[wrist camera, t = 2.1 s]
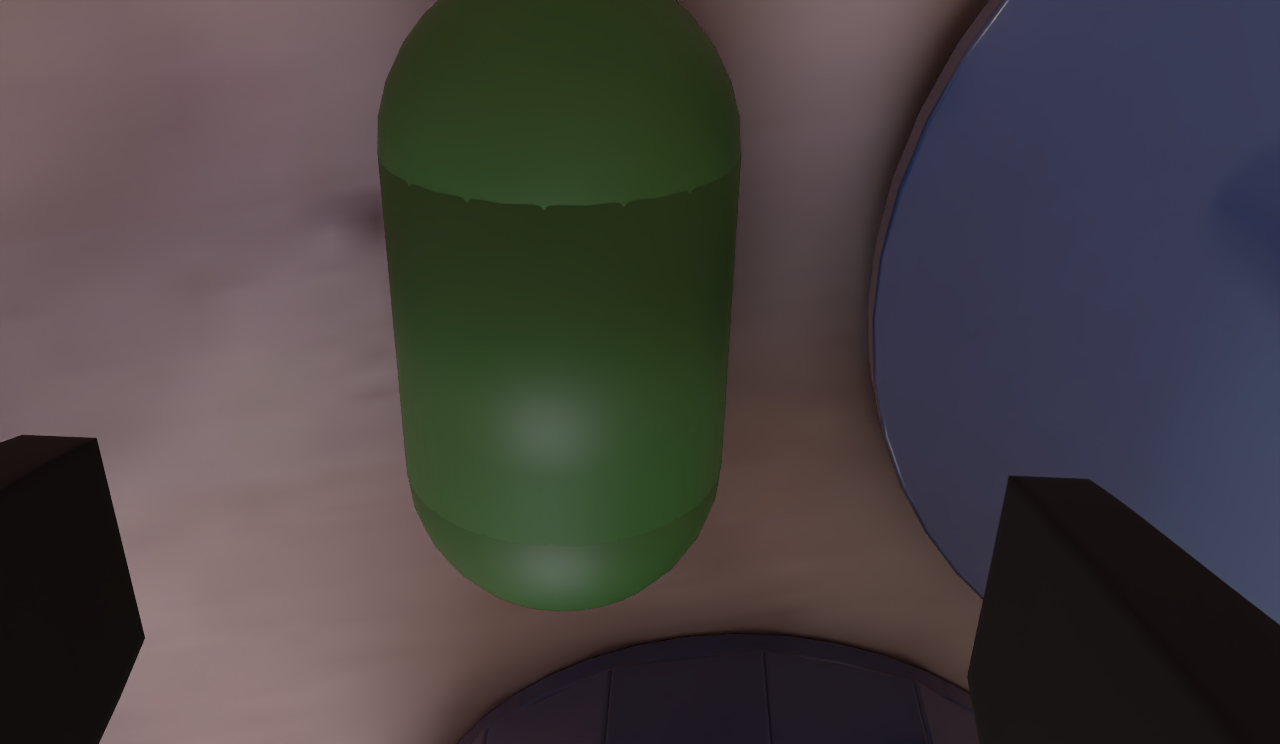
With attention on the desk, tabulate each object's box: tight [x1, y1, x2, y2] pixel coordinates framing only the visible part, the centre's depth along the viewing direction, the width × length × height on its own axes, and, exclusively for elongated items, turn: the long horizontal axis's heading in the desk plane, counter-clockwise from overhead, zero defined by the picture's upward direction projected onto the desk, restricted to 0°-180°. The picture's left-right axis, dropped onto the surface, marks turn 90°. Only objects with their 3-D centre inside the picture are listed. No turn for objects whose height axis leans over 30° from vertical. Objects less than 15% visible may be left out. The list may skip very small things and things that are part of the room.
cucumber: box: [378, 0, 741, 611], centre depth 13 cm, size 8×4×4 cm, turn 179°
